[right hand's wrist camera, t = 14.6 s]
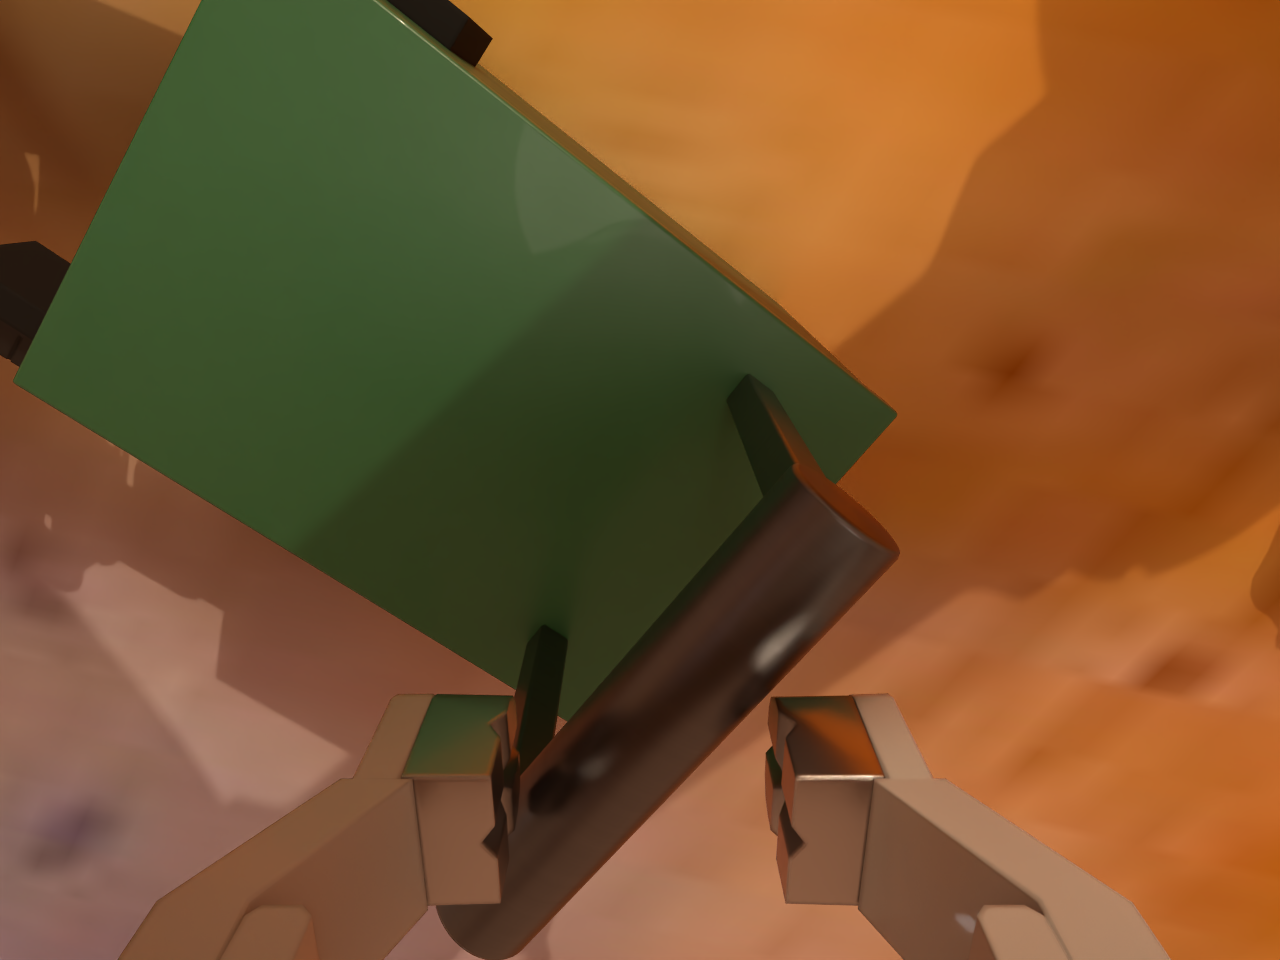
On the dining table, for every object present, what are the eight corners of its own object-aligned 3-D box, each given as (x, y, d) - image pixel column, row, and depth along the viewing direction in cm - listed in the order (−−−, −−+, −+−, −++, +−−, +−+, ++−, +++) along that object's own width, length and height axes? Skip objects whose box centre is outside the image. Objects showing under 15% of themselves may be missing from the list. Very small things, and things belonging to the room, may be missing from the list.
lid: (886, 401, 17) (1095, 597, 9) (604, 718, 19) (583, 1073, 12) (275, -85, 14) (-183, -406, 6) (43, 371, 16) (-474, 545, 9)
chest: (781, 305, 26) (863, 384, 17) (602, 527, 29) (583, 704, 19) (426, 21, 23) (276, -84, 14) (265, 297, 26) (45, 370, 16)
